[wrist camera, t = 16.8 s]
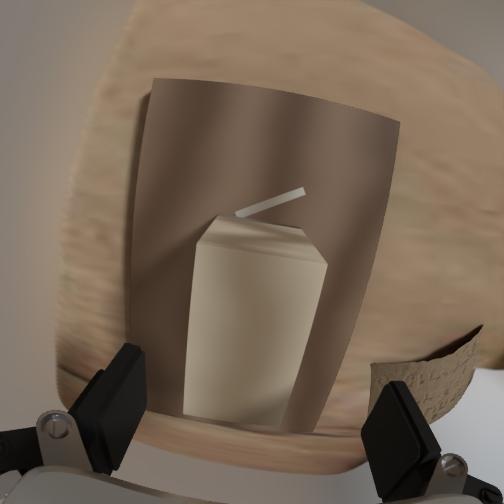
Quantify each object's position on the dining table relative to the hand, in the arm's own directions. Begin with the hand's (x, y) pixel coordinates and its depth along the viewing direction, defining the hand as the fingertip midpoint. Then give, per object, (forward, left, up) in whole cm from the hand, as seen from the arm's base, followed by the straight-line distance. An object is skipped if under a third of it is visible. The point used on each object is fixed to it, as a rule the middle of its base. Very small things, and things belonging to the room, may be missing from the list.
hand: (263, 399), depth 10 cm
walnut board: (+1, 0, -11) cm, 11 cm away
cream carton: (+1, 0, -10) cm, 10 cm away
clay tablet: (-18, +8, -12) cm, 23 cm away
